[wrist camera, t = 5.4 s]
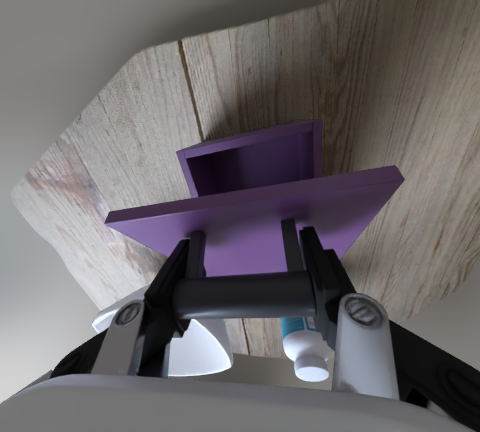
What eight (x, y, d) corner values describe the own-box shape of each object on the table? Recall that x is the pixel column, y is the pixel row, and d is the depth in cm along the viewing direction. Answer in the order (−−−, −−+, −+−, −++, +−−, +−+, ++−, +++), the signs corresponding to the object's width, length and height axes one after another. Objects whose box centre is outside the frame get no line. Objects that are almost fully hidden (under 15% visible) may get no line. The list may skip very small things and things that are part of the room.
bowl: (177, 325, 49) (154, 379, 38) (121, 268, 40) (73, 319, 30) (251, 311, 42) (247, 372, 32) (203, 239, 33) (177, 292, 23)
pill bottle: (279, 306, 40) (287, 384, 28) (276, 283, 37) (283, 361, 25) (314, 305, 39) (338, 387, 27) (314, 281, 35) (340, 363, 23)
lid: (108, 211, 10) (61, 320, 7) (396, 164, 7) (492, 312, 4) (220, 278, 25) (218, 320, 22) (322, 272, 22) (334, 318, 20)
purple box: (202, 142, 25) (175, 151, 17) (302, 119, 22) (322, 118, 15) (230, 242, 33) (220, 279, 25) (307, 234, 30) (322, 272, 23)
